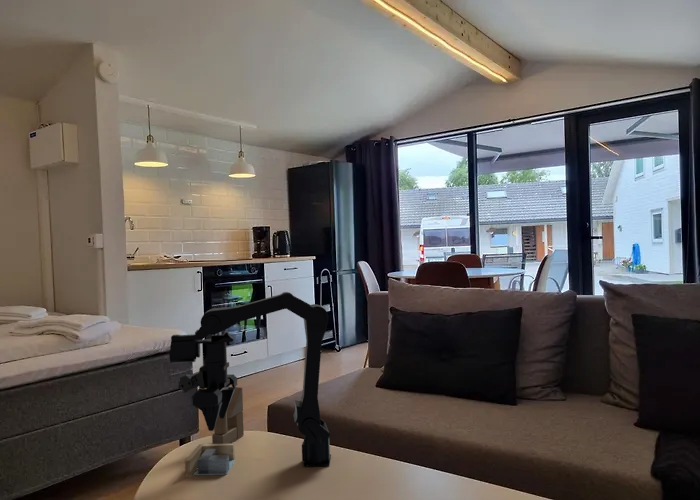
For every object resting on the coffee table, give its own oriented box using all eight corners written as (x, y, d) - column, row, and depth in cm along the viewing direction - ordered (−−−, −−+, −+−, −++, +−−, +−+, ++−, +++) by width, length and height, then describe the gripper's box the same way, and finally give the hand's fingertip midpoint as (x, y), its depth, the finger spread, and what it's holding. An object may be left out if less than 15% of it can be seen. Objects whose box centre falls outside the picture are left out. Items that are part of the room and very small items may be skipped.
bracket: (198, 474, 126) (197, 459, 126) (207, 462, 133) (206, 448, 133) (226, 473, 125) (226, 459, 125) (234, 462, 132) (233, 448, 132)
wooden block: (244, 435, 152) (242, 374, 152) (223, 449, 142) (220, 383, 142) (233, 434, 153) (231, 373, 154) (211, 447, 143) (209, 382, 143)
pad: (235, 461, 133) (235, 460, 133) (226, 474, 125) (226, 473, 125) (204, 461, 134) (204, 461, 134) (194, 475, 126) (194, 474, 126)
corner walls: (234, 458, 135) (234, 443, 135) (223, 476, 124) (222, 459, 124) (199, 459, 135) (199, 444, 135) (185, 477, 124) (185, 460, 125)
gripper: (194, 353, 136) (196, 413, 136) (167, 370, 118) (170, 438, 118) (236, 352, 136) (238, 412, 136) (216, 368, 117) (218, 437, 117)
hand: (216, 424), depth 127 cm, fingers open, 9 cm apart
